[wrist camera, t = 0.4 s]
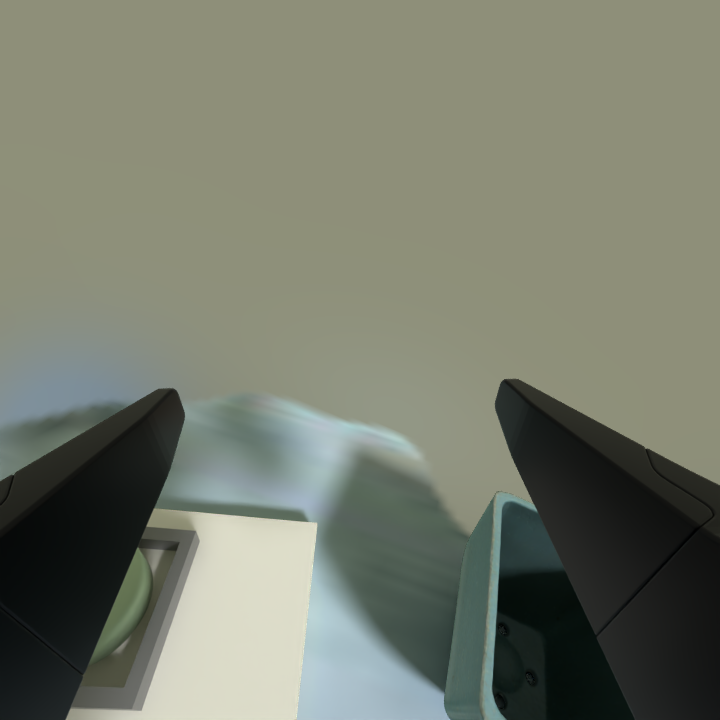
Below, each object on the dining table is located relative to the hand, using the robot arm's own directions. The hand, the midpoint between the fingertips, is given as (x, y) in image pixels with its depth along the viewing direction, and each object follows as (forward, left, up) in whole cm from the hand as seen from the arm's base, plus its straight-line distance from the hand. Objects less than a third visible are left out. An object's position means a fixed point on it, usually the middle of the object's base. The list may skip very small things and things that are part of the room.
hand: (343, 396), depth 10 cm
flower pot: (-3, -11, -17) cm, 21 cm away
